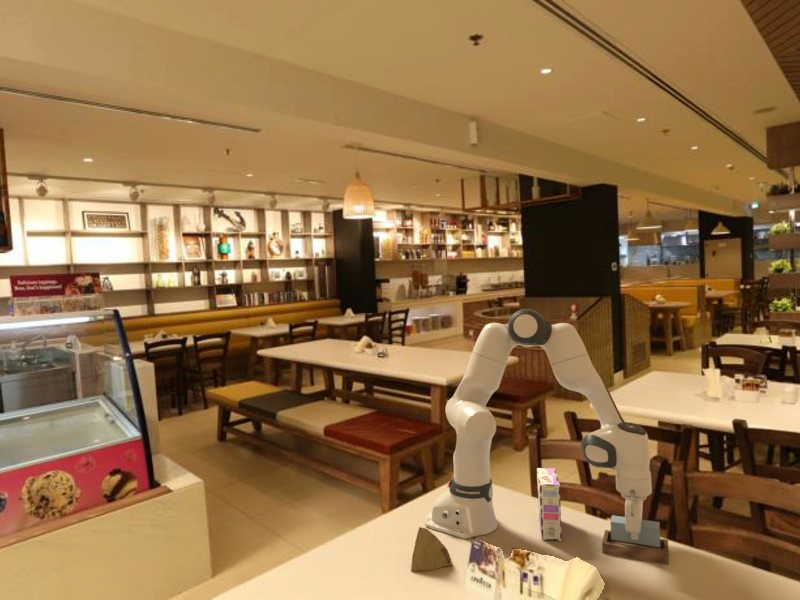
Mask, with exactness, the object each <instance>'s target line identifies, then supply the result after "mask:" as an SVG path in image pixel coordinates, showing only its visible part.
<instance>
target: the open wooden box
mask: <svg viewBox="0 0 800 600" xmlns="http://www.w3.org/2000/svg"><path fill="white" fill-rule="evenodd" d="M603 533H604V534H603V538H602V543H601V546H602V547H601V548H602V550H601V551H602V553H603V554H607V555H608V554H609V555H615V556H619V557H626V558H630V559H631V558H632V559H637V560H642V561H647V562H654V563H659V564H665V565H669V564H670V563H669V559H670V558H669V540H668V539H664V538H660V547H654V546H648V545H642V544H636V543H630V542H624V541H618V540H611V530H607V529H605V530H604V532H603Z"/></svg>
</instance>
